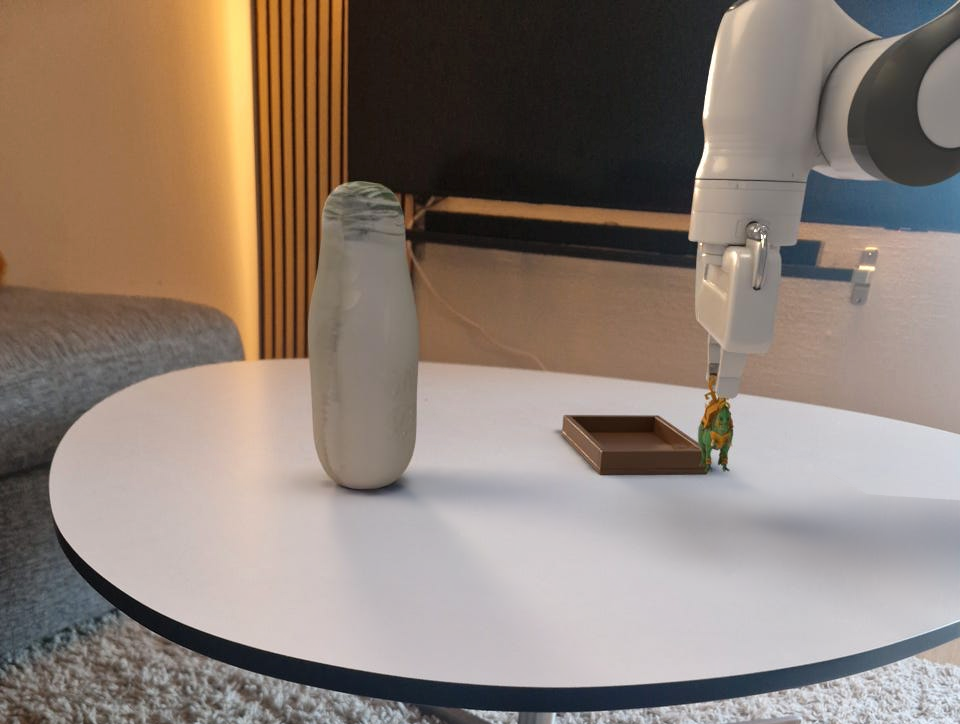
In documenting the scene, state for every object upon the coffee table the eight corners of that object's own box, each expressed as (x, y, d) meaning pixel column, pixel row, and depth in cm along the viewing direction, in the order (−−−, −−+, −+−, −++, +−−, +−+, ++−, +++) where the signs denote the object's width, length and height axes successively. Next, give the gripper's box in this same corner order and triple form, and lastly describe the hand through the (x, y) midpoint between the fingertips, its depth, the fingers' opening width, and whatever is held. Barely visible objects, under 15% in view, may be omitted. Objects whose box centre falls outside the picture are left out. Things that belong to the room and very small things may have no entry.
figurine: (703, 479, 81) (709, 383, 78) (689, 454, 92) (694, 369, 89) (739, 478, 81) (747, 382, 78) (721, 454, 92) (727, 369, 89)
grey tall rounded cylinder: (393, 506, 89) (393, 182, 77) (298, 492, 92) (283, 177, 80) (430, 479, 98) (435, 184, 85) (341, 467, 100) (334, 180, 88)
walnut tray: (707, 473, 104) (710, 451, 103) (599, 474, 102) (601, 451, 101) (656, 435, 120) (658, 415, 119) (561, 435, 118) (563, 414, 117)
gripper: (812, 226, 67) (779, 417, 73) (761, 218, 85) (738, 371, 92) (724, 223, 68) (699, 414, 74) (692, 215, 86) (673, 368, 92)
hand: (720, 390), depth 83 cm, fingers closed on figurine, 4 cm apart
